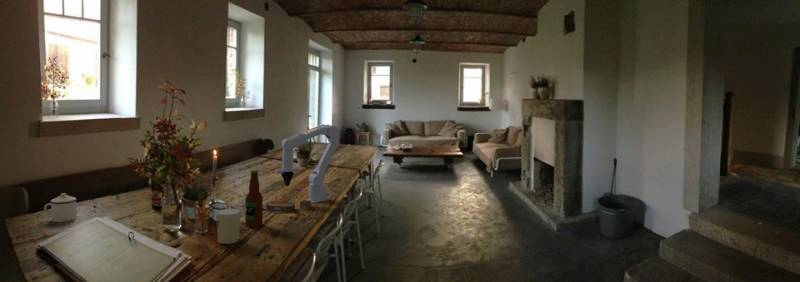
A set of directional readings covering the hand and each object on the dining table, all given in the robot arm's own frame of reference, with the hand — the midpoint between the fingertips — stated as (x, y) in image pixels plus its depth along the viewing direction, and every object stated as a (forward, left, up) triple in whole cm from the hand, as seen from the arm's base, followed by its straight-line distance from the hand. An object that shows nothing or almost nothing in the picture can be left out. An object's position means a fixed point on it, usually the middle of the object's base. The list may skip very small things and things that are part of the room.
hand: (287, 185), depth 230 cm
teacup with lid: (+90, -40, -10) cm, 99 cm away
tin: (+6, +6, -8) cm, 12 cm away
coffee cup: (+51, +33, -10) cm, 62 cm away
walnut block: (-2, +14, -10) cm, 17 cm away
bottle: (+33, +22, -10) cm, 42 cm away
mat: (+11, +5, -10) cm, 16 cm away
